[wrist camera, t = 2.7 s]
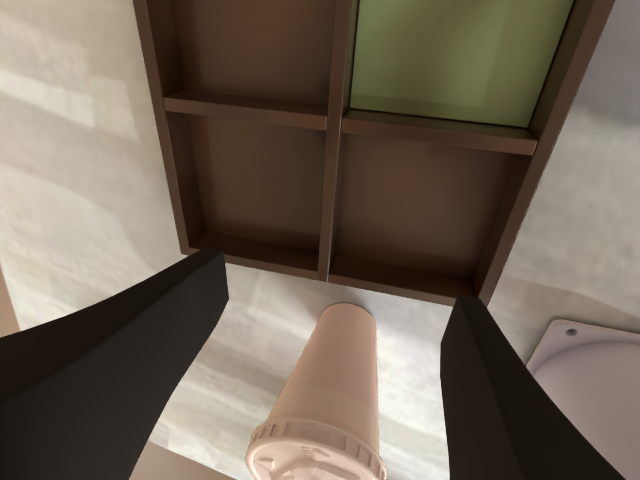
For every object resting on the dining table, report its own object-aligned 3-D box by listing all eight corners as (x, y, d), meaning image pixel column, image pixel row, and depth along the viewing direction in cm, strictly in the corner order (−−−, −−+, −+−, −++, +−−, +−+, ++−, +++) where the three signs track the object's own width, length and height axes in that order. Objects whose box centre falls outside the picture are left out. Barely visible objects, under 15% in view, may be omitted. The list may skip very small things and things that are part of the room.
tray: (642, -145, 11) (691, -179, 9) (478, 283, 20) (485, 313, 18) (146, -143, 14) (99, -169, 12) (201, 232, 23) (180, 254, 21)
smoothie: (413, 348, 24) (406, 670, 12) (329, 364, 26) (259, 638, 15) (370, 274, 21) (310, 585, 10) (283, 300, 24) (157, 567, 13)
